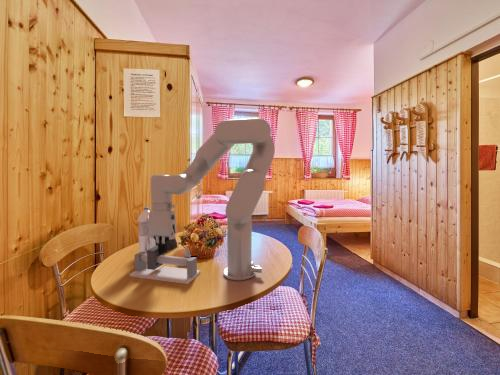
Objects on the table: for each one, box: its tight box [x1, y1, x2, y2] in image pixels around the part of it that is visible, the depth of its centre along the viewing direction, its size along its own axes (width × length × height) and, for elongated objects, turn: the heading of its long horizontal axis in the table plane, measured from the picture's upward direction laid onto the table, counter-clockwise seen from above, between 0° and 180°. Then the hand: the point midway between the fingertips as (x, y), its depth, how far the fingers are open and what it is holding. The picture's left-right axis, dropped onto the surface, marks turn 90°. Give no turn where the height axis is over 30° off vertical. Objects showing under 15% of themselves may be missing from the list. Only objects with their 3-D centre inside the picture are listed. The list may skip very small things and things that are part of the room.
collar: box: [147, 245, 165, 270], centre depth 98 cm, size 3×6×8 cm, turn 165°
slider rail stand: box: [129, 252, 201, 285], centre depth 98 cm, size 25×10×8 cm, turn 76°
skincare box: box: [184, 230, 191, 258], centre depth 119 cm, size 6×4×12 cm
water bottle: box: [137, 206, 156, 264], centre depth 108 cm, size 7×7×25 cm
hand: (162, 252), depth 97 cm, fingers closed
